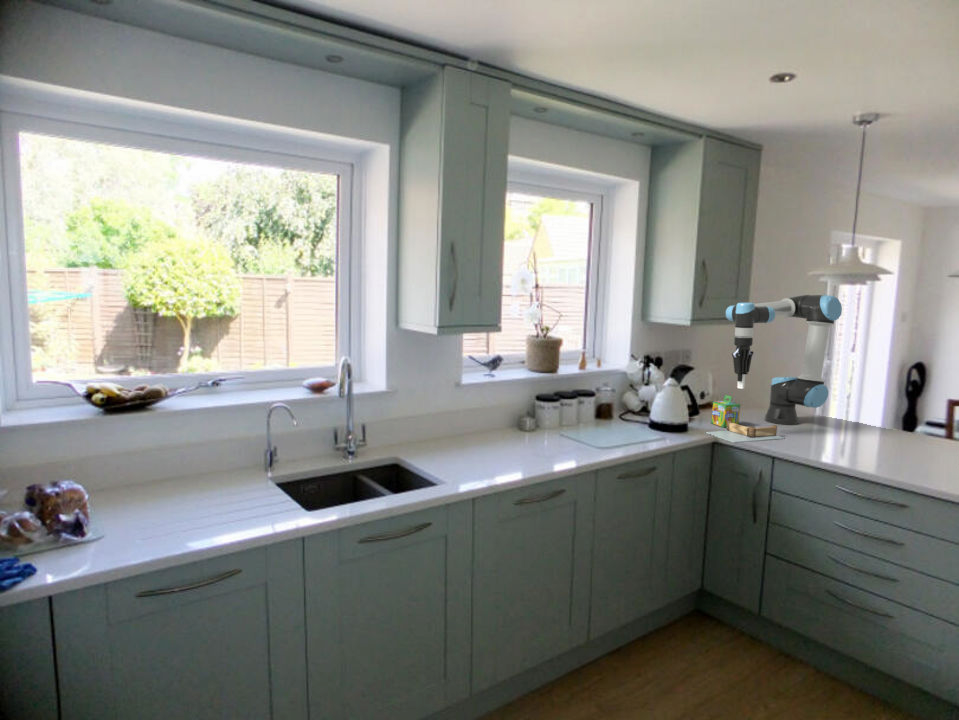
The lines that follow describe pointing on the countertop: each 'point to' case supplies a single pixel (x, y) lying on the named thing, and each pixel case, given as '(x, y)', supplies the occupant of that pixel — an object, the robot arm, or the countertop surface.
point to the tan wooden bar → (737, 428)
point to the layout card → (741, 436)
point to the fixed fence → (762, 431)
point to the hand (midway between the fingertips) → (740, 388)
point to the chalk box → (725, 412)
